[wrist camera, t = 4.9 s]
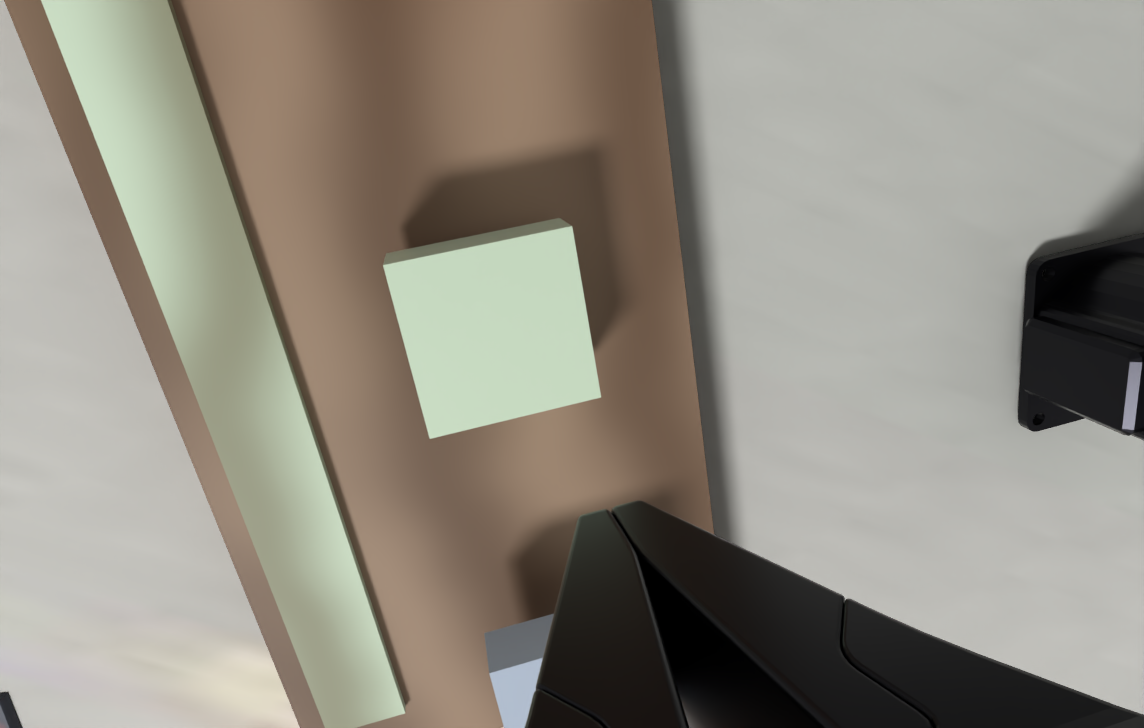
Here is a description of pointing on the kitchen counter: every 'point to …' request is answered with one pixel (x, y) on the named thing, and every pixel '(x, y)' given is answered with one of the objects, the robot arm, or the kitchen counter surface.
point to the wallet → (7, 713)
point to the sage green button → (494, 325)
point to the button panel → (381, 303)
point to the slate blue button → (516, 666)
